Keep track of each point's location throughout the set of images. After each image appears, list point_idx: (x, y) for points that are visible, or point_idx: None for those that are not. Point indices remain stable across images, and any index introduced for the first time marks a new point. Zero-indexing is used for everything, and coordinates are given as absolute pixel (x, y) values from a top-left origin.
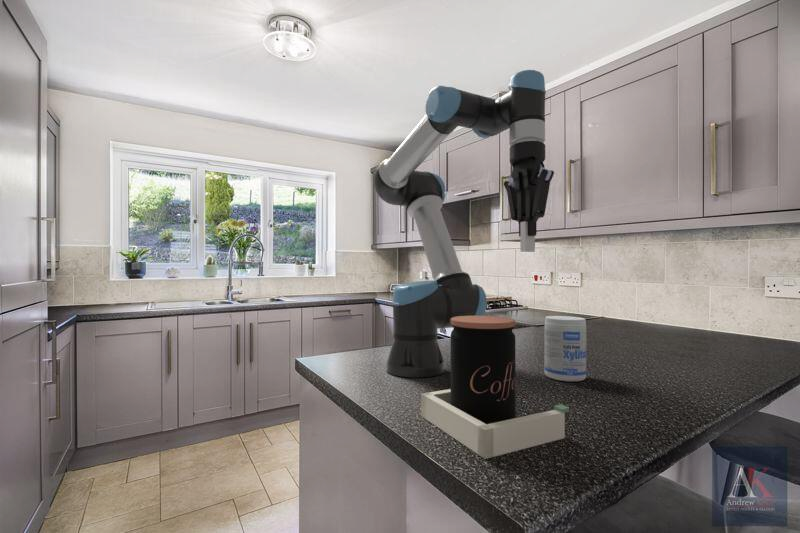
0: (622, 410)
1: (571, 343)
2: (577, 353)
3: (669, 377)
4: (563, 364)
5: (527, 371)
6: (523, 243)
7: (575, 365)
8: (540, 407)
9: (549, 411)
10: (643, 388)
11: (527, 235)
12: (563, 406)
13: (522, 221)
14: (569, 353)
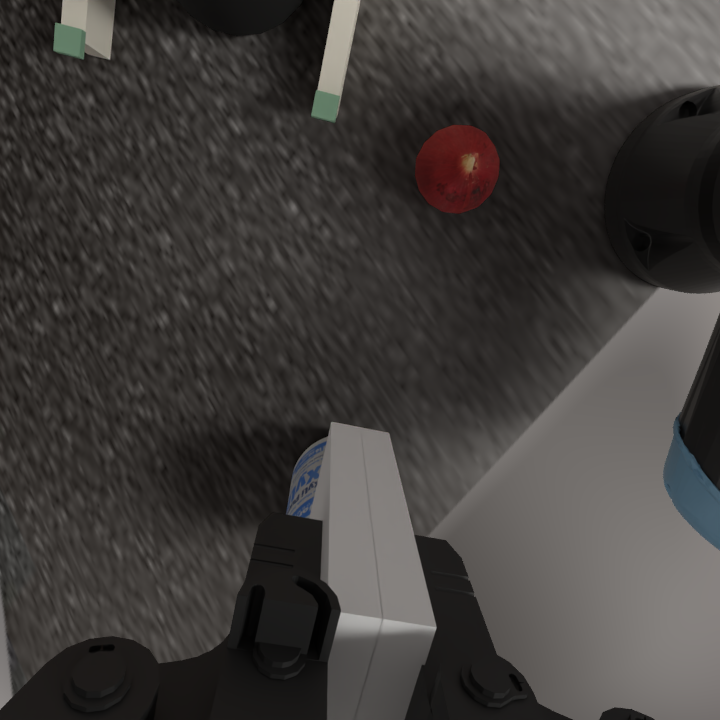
0: (116, 333)
1: (299, 501)
2: (290, 498)
3: None
4: (321, 456)
5: (447, 456)
6: (357, 457)
7: (296, 475)
8: (239, 198)
9: (83, 10)
10: (173, 532)
11: (322, 518)
12: (65, 46)
13: (431, 679)
14: (305, 480)
